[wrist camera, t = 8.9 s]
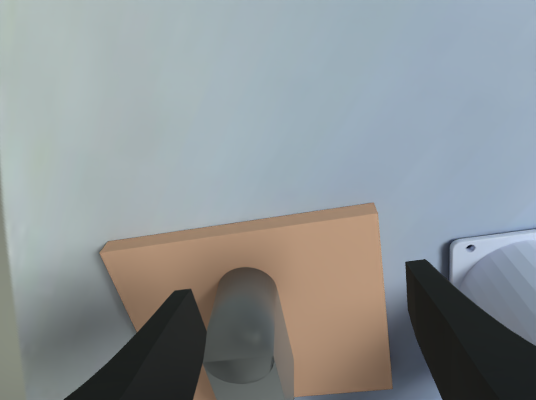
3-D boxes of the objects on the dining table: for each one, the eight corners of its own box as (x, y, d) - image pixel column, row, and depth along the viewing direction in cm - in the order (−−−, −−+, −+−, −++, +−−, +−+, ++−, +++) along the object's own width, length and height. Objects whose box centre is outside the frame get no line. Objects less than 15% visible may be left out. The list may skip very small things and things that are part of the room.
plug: (271, 263, 23) (266, 328, 18) (300, 389, 27) (302, 464, 23) (211, 271, 23) (192, 336, 19) (250, 393, 28) (242, 467, 24)
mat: (373, 202, 22) (377, 213, 21) (388, 374, 28) (392, 389, 27) (108, 241, 24) (99, 252, 23) (176, 392, 30) (172, 407, 29)
